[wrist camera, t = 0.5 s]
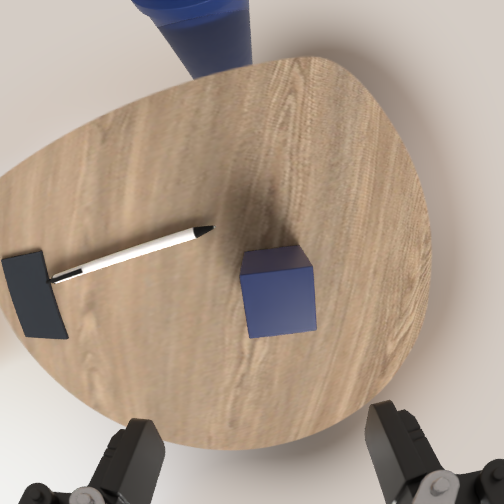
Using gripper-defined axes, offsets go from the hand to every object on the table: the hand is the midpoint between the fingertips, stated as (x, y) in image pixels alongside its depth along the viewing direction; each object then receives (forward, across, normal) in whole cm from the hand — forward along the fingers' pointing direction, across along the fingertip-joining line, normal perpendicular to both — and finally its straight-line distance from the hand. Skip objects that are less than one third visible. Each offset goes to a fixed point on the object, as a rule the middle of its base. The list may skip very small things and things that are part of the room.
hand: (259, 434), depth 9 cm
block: (+16, -1, -1) cm, 16 cm away
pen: (+16, +12, -4) cm, 20 cm away
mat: (+16, +26, 0) cm, 30 cm away
